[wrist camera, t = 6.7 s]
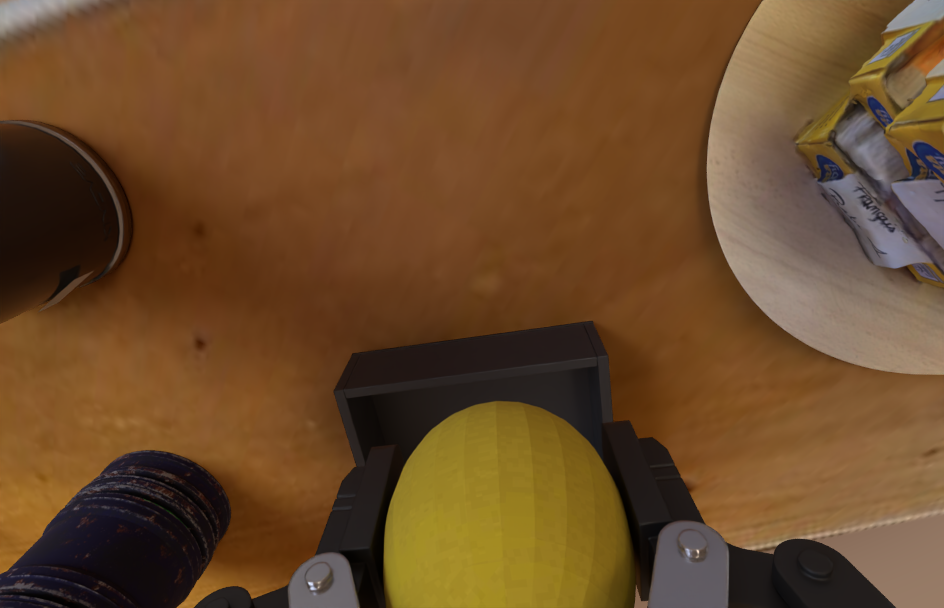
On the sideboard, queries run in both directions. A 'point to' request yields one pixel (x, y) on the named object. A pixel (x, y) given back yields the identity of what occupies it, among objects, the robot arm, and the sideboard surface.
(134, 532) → the storage jar
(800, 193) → the plate of stacked packets
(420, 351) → the bin
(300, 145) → the sideboard surface
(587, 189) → the sideboard surface
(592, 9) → the sideboard surface
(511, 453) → the lemon
